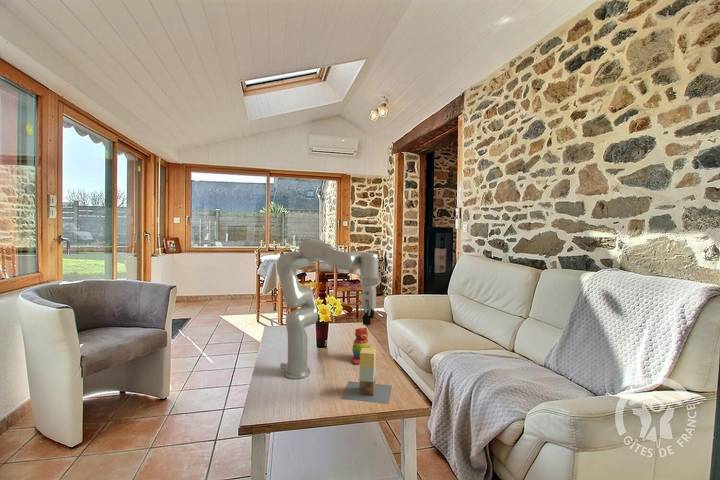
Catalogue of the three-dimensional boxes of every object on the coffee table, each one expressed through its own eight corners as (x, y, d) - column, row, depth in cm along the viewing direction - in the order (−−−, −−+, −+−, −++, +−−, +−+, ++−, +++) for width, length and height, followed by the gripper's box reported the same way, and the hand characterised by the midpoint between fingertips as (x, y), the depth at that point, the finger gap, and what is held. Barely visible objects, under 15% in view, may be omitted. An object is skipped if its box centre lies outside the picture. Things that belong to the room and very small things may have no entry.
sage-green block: (359, 380, 142) (359, 366, 142) (361, 374, 148) (362, 361, 148) (373, 382, 141) (373, 368, 141) (375, 375, 147) (375, 362, 147)
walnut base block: (359, 394, 143) (359, 380, 142) (361, 387, 149) (361, 374, 148) (373, 395, 142) (373, 382, 141) (375, 389, 148) (375, 375, 147)
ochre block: (359, 366, 142) (360, 352, 142) (362, 361, 148) (362, 347, 148) (373, 367, 141) (374, 353, 141) (375, 362, 147) (375, 348, 147)
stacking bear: (353, 365, 176) (354, 331, 175) (349, 358, 186) (349, 326, 185) (373, 363, 179) (374, 330, 178) (367, 356, 189) (368, 324, 188)
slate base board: (340, 402, 139) (340, 398, 139) (348, 384, 155) (348, 381, 155) (388, 407, 136) (388, 403, 136) (392, 388, 151) (392, 385, 151)
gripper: (375, 285, 134) (374, 328, 135) (380, 278, 151) (379, 316, 152) (356, 284, 135) (356, 326, 136) (363, 278, 152) (363, 315, 153)
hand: (368, 321), depth 144 cm, fingers open, 9 cm apart
